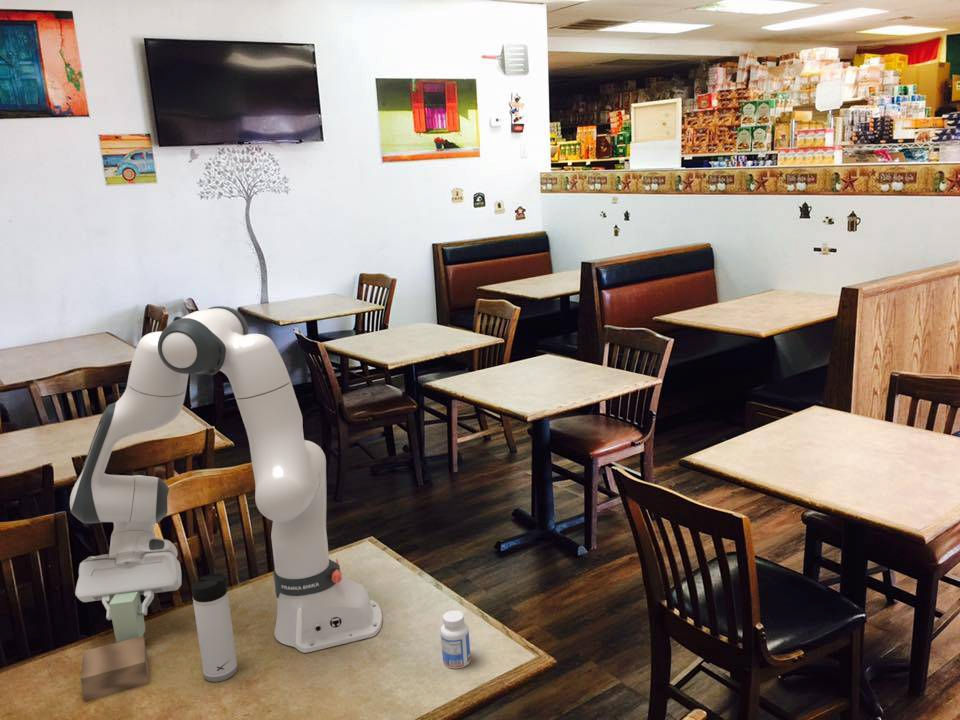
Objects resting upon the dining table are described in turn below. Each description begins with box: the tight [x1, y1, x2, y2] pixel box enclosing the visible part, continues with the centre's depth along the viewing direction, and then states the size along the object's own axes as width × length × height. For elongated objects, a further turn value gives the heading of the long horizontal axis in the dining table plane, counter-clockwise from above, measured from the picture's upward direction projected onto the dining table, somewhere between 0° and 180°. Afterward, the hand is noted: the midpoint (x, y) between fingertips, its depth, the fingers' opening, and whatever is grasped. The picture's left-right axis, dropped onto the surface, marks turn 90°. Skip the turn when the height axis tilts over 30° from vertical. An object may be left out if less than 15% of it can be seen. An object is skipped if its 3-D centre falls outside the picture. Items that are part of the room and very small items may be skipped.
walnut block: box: [80, 635, 150, 702], centre depth 150 cm, size 11×10×5 cm
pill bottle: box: [440, 609, 471, 670], centre depth 149 cm, size 6×5×10 cm
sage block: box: [109, 591, 147, 643], centre depth 158 cm, size 4×4×9 cm
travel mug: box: [190, 572, 238, 683], centre depth 148 cm, size 6×7×20 cm
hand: (126, 617), depth 157 cm, fingers closed on sage block, 4 cm apart
